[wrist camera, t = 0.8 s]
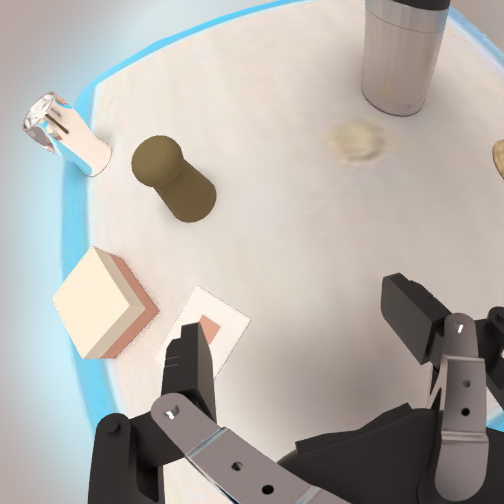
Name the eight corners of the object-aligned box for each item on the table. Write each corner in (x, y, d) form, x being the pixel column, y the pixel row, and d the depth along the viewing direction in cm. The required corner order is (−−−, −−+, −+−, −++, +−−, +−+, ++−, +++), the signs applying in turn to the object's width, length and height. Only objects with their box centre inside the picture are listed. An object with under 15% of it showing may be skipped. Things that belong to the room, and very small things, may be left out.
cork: (173, 228, 35) (120, 189, 25) (169, 186, 37) (123, 139, 27) (219, 214, 34) (179, 166, 24) (213, 171, 36) (176, 117, 26)
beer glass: (109, 173, 41) (45, 119, 26) (78, 183, 42) (15, 139, 28) (117, 137, 42) (61, 82, 28) (86, 149, 44) (31, 102, 30)
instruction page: (198, 285, 33) (197, 285, 32) (251, 319, 30) (250, 319, 30) (155, 359, 31) (154, 359, 31) (203, 395, 29) (202, 396, 29)
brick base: (122, 258, 36) (92, 245, 30) (159, 311, 33) (129, 305, 27) (83, 304, 36) (52, 298, 30) (114, 357, 33) (82, 359, 27)
